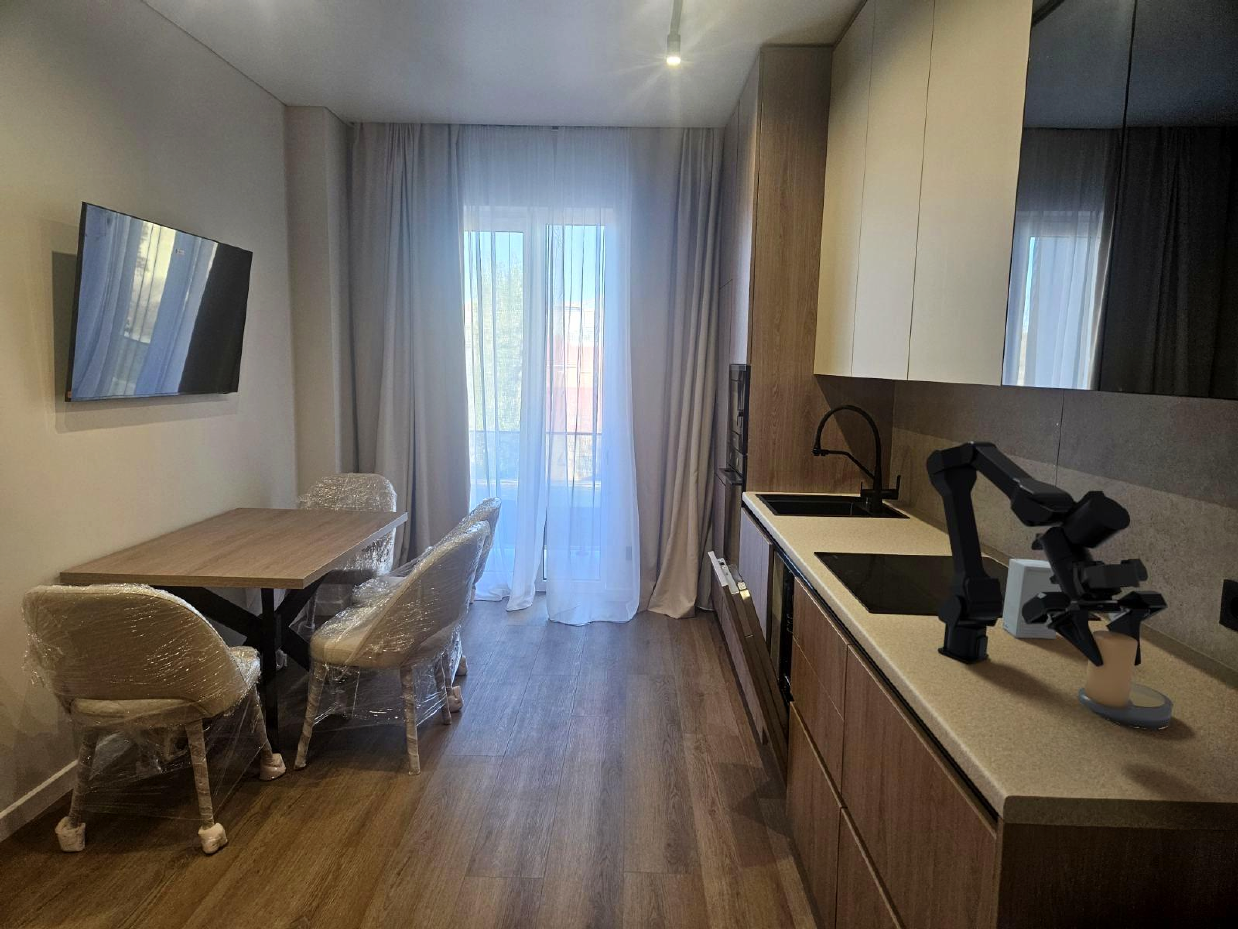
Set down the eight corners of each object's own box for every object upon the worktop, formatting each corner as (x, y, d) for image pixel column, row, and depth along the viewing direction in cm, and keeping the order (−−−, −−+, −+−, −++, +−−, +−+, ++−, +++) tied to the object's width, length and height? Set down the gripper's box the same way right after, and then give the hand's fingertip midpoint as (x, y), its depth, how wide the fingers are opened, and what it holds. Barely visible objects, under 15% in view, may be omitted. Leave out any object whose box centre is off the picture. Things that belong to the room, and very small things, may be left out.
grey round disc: (1071, 705, 115) (1074, 685, 114) (1105, 689, 121) (1108, 671, 120) (1150, 737, 106) (1153, 716, 105) (1182, 718, 111) (1186, 698, 111)
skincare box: (1015, 638, 142) (1023, 566, 140) (999, 627, 148) (1007, 557, 146) (1057, 639, 142) (1066, 567, 140) (1040, 628, 148) (1048, 558, 145)
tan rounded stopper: (1069, 701, 102) (1079, 635, 100) (1089, 689, 105) (1098, 625, 104) (1121, 721, 97) (1132, 651, 95) (1139, 708, 100) (1150, 641, 99)
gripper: (1044, 537, 100) (1092, 645, 91) (1167, 537, 102) (1226, 642, 93) (1003, 573, 109) (1043, 674, 100) (1116, 572, 111) (1165, 671, 102)
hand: (1119, 665), depth 99 cm, fingers closed on tan rounded stopper, 5 cm apart
